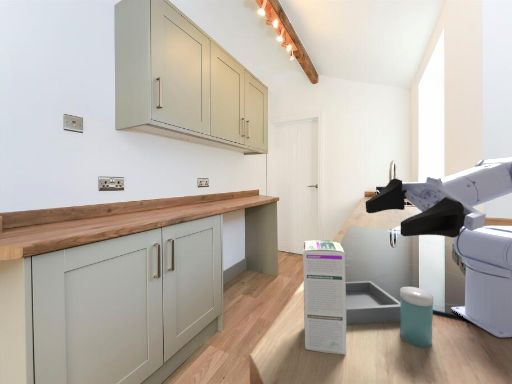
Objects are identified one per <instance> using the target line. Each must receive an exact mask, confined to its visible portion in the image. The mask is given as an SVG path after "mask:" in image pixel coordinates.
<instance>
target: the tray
mask: <svg viewBox="0 0 512 384" xmlns="http://www.w3.org/2000/svg"><path fill="white" fill-rule="evenodd" d="M345 282H346V325H357V324H359V325H360V324H370V323H371V324H375V323H385V322H386V323H387V322H400V300H398V299H396V298H395V297H394V296H392V295H391V294H390V293H388V291H385V290H384V289H383V288H381V287H380V286H378V285H377V284H376V283H374V282H373V281H372V280H363V281H362V280H361V281H360V280H359V281H345Z"/></svg>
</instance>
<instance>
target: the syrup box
mask: <svg viewBox="0 0 512 384" xmlns="http://www.w3.org/2000/svg"><path fill="white" fill-rule="evenodd" d="M302 250H303V251H302V253H303V254H302V258H303V260H302V261H303V264H302V265H303V316H304V317H303V318H304V321H303V322H304V323H303V324H304V348H305V350H307V351H308V350H309V351H313V352H318V353H320V352H321V353H327V354H328V353H329V354H336V355H345V356H346V355H347V324H346V282H347V281H346V252H345V251H344V248H343V247H342V245H341V243H340V242H339V241H335V240H327V239H317V240H316V239H315V240H314V239H313V240H304V242H303V248H302Z"/></svg>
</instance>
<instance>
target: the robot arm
mask: <svg viewBox="0 0 512 384" xmlns="http://www.w3.org/2000/svg"><path fill="white" fill-rule="evenodd" d="M509 194H512V157H504V158H493V159H486V160H485V159H482V160H479V161H478V162H477V163H476V164H475V165H474V167H472V168H469V169H466V170H465V169H464V170H463V171H460V172H457V173H453V174H451V175H448V176H445V177H441V178H440V177H439V176H438V177H437V176H435V175H429V176H427V178H426V181H409V182H407V181H406V182H405V181H403V180H401V179H398V178H392V179H390V181H388V183H387V184H386V186H385V187H384V188H383V189H382V190H381V191H379V192H378V193H377V194H375V195H374V196H372V197H371V198H369V199H368V200H366V201H365V212H366V213H368V214H376V213H379V212H384V211H389V210H400V211H405V206H406V202H405V200H407V201H409V202H410V203H411V204H412V205H413V206H415V207H416V208H417V209H418V210H419V211H420V212H419V213H418V214H415V215H412V216H409V217H408V218H406V219H404V220H402V221H400V235H401V236H402V237H412V236H415V237H417V236H440V237H441V236H442V237H448V238H453V248H454V250H455V252H456V254H457V255H458V256H460V257H461V263H462V264H465V288H464V289H465V291H464V293H465V295H464V306H452V307H451V308H450V309H452V310H453V312H454V311H455V312H454V313H456V312H457V313H458V315H459V314H460V315H459V316H461V317H462V316H463V318H464V319H466V320H467V321H469V322H471V323H473V324H474V325H476V326H478V327H479V328H481V329H482V330H485V332H488V333H489V334H491V335H493V336H495V337H497V338H502V339H503V338H511V337H512V225H485V222H486V216H487V214H486V213H484V212H482V211H480V210H478V209H476V208H474V207H476V206H478V205H481V204H485V203H486V202H490V201H492V200H496V199H498V198H501V197H504V196H507V195H509ZM452 310H451V311H452ZM457 313H456V314H457Z"/></svg>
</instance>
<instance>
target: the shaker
mask: <svg viewBox="0 0 512 384" xmlns="http://www.w3.org/2000/svg"><path fill="white" fill-rule="evenodd" d="M399 292H400V293H399V297H400V300H399V302H400V321H399V336H400V337H401V338H402V340H404V341H405V342H407V343H408V344H410V345H413V346H415V347H418V348H430V347H431V346H432V345H433V314H434V312H433V311H434V306H433V305H434V294H433V293H431V292H430V291H428V290H425V289H423V288H419V287H415V286H403V287H400V289H399Z"/></svg>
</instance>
